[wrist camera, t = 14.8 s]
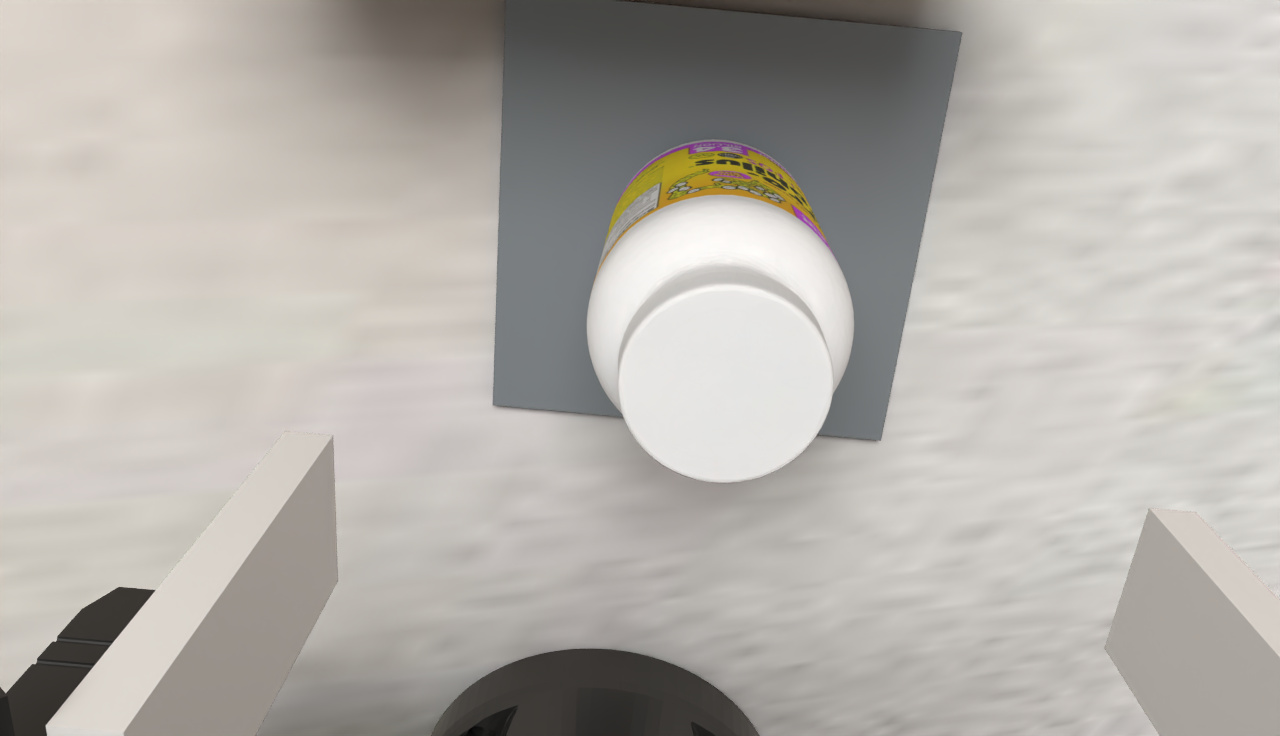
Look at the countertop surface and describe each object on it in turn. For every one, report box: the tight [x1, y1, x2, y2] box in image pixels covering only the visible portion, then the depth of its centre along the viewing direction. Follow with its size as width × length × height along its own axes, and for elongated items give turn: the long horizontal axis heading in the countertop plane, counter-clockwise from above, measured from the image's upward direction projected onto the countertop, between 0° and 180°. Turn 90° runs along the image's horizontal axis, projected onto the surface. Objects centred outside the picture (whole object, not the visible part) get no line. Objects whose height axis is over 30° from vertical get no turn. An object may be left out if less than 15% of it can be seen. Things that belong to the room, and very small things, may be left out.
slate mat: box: [493, 0, 962, 441], centre depth 34 cm, size 14×14×1 cm
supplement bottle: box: [587, 139, 854, 483], centre depth 27 cm, size 7×7×13 cm
